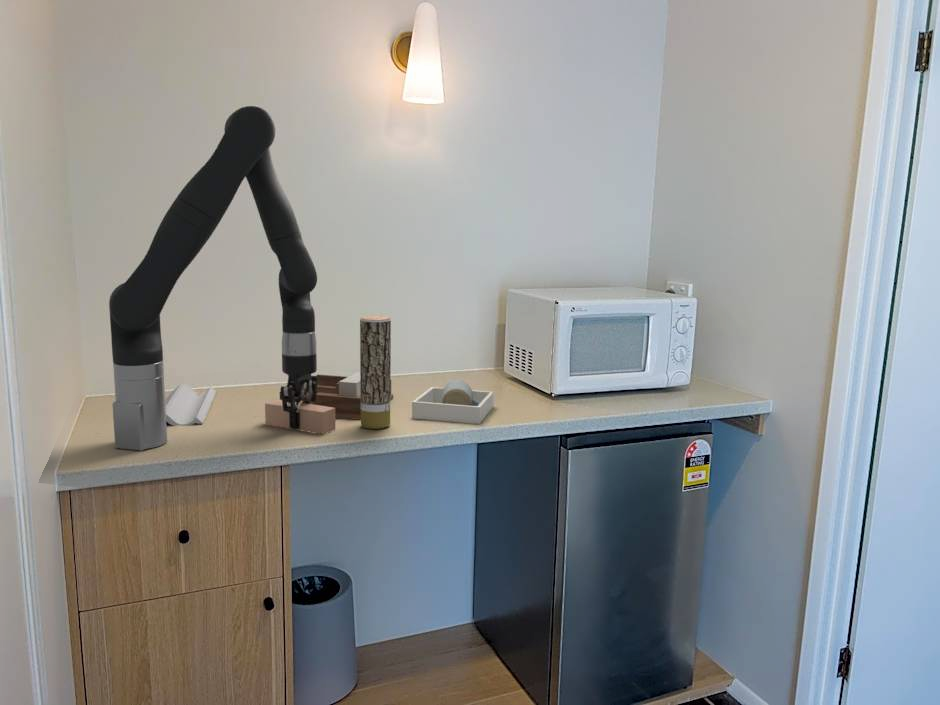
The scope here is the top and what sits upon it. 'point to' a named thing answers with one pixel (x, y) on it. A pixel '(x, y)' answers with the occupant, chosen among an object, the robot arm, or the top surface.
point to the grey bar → (350, 386)
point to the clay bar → (302, 417)
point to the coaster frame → (451, 407)
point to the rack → (336, 397)
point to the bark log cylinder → (375, 371)
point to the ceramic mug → (458, 394)
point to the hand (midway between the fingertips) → (300, 424)
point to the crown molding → (187, 405)
